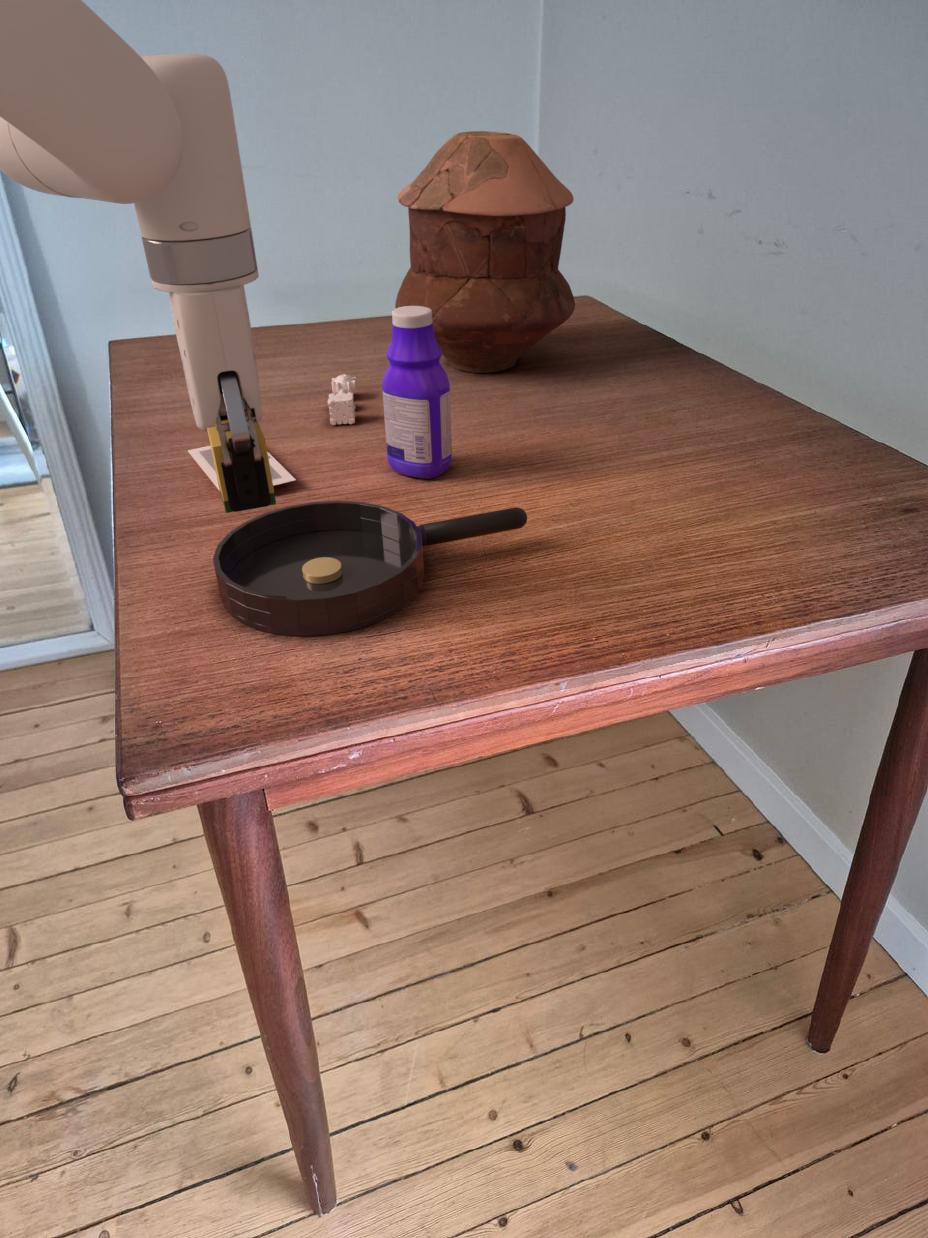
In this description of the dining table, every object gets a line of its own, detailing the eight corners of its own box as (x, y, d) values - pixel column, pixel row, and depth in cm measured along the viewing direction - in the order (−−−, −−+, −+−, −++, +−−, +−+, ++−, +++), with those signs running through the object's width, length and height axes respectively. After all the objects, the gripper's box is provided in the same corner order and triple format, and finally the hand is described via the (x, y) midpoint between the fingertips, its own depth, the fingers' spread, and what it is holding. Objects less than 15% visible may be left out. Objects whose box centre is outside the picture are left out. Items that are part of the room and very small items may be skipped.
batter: (306, 587, 78) (305, 579, 77) (299, 568, 81) (298, 561, 80) (346, 579, 79) (345, 571, 78) (337, 561, 82) (337, 553, 81)
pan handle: (416, 551, 81) (415, 532, 79) (410, 542, 82) (409, 522, 81) (530, 530, 83) (530, 510, 82) (522, 521, 85) (522, 502, 84)
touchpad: (226, 506, 94) (222, 487, 92) (189, 459, 105) (185, 441, 103) (297, 489, 97) (294, 470, 95) (253, 445, 108) (250, 427, 107)
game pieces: (355, 424, 112) (353, 400, 111) (329, 426, 112) (326, 401, 110) (358, 393, 122) (356, 370, 121) (333, 394, 122) (331, 371, 121)
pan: (233, 655, 71) (225, 618, 69) (211, 553, 85) (204, 520, 83) (450, 610, 75) (448, 573, 73) (394, 520, 90) (392, 488, 88)
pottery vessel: (383, 348, 140) (366, 130, 124) (538, 331, 145) (541, 120, 129) (420, 400, 119) (405, 146, 103) (600, 378, 124) (612, 133, 108)
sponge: (226, 513, 71) (212, 446, 68) (218, 486, 76) (205, 422, 72) (276, 504, 72) (265, 438, 69) (266, 478, 77) (255, 415, 73)
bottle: (462, 467, 100) (456, 306, 91) (433, 485, 96) (424, 320, 87) (408, 455, 104) (398, 299, 94) (379, 472, 100) (365, 312, 90)
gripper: (143, 243, 70) (190, 461, 80) (153, 291, 56) (209, 547, 66) (240, 233, 72) (275, 447, 81) (273, 278, 58) (310, 528, 68)
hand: (245, 489), depth 74 cm, fingers closed on sponge, 5 cm apart
